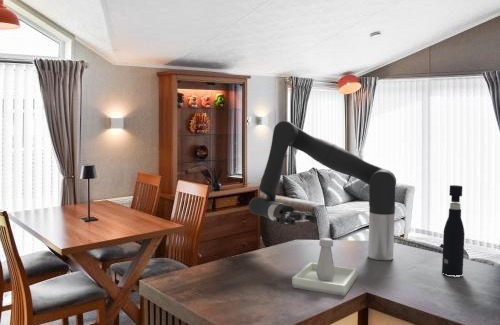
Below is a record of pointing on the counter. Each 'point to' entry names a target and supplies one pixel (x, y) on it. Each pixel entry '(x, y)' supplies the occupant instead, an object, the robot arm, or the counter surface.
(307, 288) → the tray
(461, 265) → the black bottle
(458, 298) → the counter surface
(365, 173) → the robot arm
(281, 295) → the counter surface
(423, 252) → the counter surface
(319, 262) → the salt shaker
